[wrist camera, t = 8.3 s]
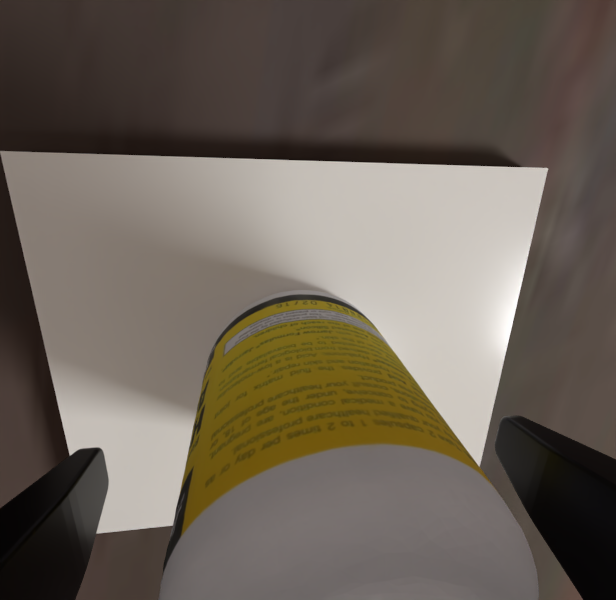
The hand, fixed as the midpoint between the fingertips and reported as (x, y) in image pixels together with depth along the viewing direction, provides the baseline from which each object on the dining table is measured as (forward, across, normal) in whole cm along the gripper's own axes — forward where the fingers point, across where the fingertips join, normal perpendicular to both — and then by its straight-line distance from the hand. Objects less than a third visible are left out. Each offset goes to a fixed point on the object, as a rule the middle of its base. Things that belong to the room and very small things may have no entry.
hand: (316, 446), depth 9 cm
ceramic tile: (+4, 0, 0) cm, 4 cm away
